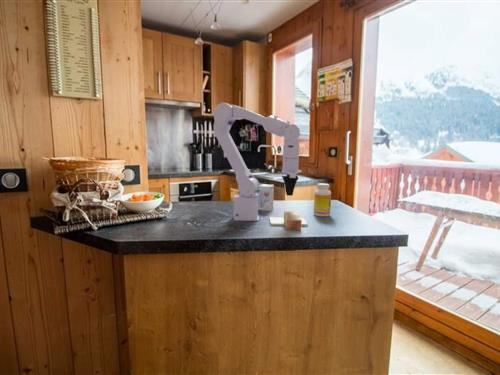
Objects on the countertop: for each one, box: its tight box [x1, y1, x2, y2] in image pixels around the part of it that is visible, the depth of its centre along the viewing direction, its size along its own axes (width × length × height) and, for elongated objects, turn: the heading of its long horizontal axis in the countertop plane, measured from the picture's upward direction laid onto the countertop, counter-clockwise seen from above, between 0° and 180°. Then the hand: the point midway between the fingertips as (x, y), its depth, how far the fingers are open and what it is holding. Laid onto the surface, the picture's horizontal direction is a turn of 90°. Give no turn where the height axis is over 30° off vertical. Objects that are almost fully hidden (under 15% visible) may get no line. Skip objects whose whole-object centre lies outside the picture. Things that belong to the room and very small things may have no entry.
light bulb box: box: [256, 183, 275, 212], centre depth 130 cm, size 11×7×11 cm, turn 73°
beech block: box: [283, 210, 302, 231], centre depth 102 cm, size 5×4×8 cm
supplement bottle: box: [313, 182, 332, 217], centre depth 120 cm, size 7×7×13 cm
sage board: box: [269, 216, 309, 227], centre depth 108 cm, size 13×9×1 cm
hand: (289, 195), depth 108 cm, fingers closed
